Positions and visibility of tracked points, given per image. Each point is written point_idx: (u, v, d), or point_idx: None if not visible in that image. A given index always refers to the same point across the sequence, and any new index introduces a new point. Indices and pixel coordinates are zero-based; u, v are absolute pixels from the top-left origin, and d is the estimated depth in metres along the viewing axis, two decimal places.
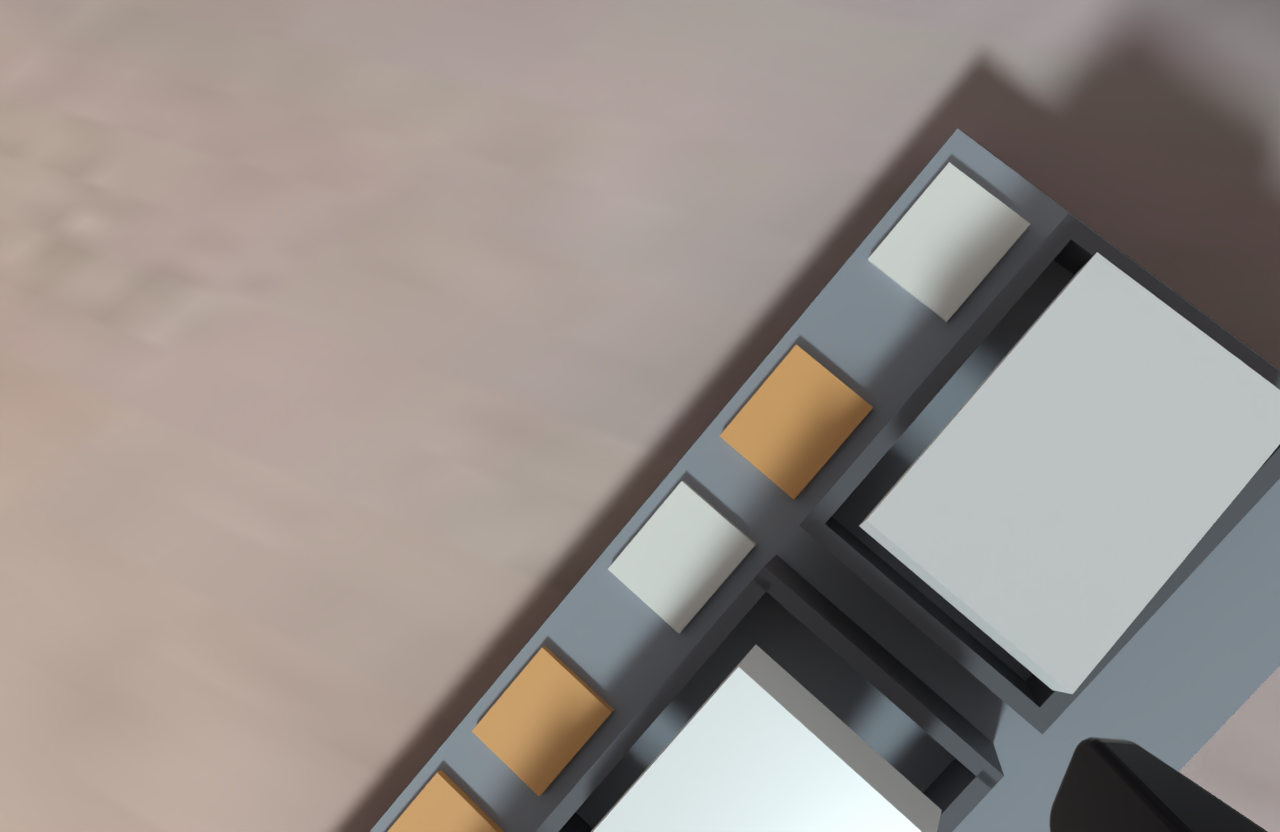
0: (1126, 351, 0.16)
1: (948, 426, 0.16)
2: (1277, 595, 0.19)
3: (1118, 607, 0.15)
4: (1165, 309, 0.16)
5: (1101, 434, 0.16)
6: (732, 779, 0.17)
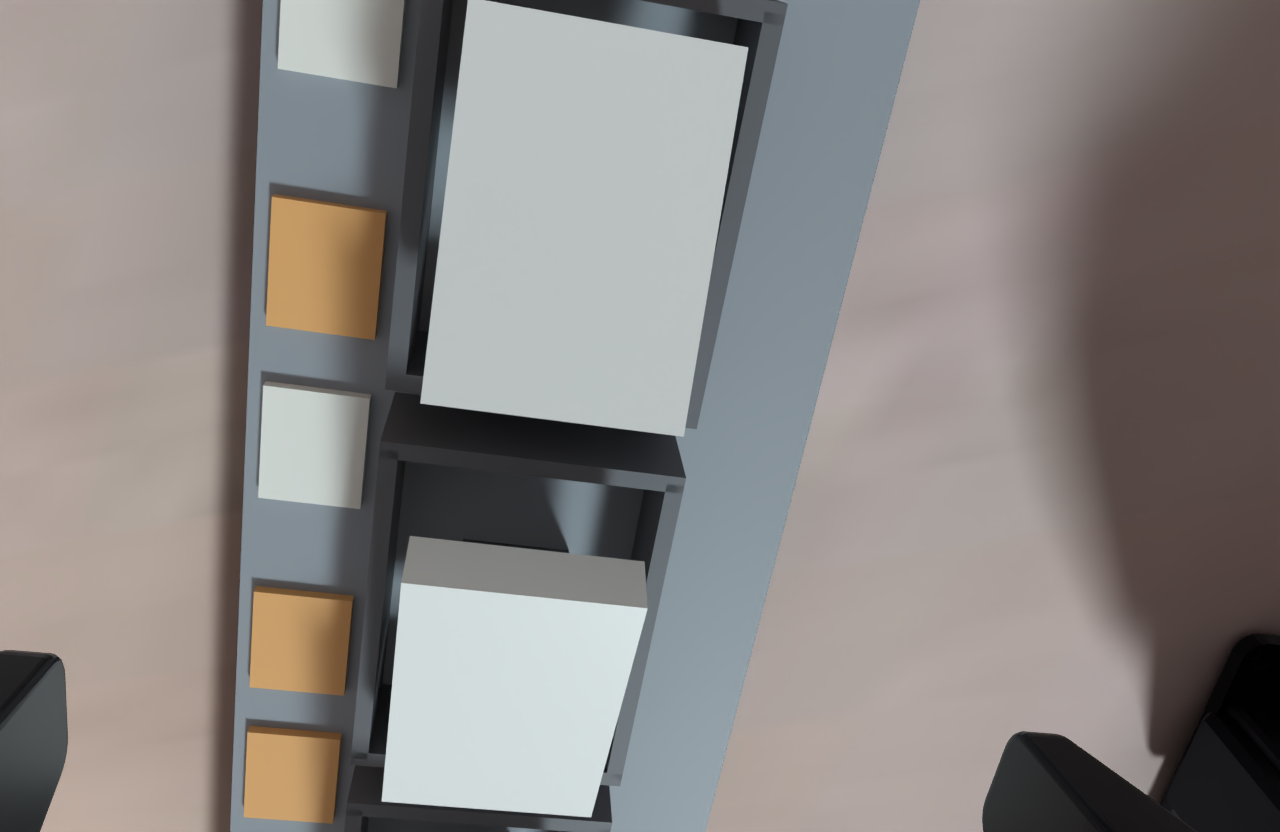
0: (555, 89, 0.14)
1: (437, 268, 0.15)
2: (831, 167, 0.19)
3: (680, 339, 0.15)
4: (567, 21, 0.14)
5: (578, 188, 0.15)
6: (462, 657, 0.17)
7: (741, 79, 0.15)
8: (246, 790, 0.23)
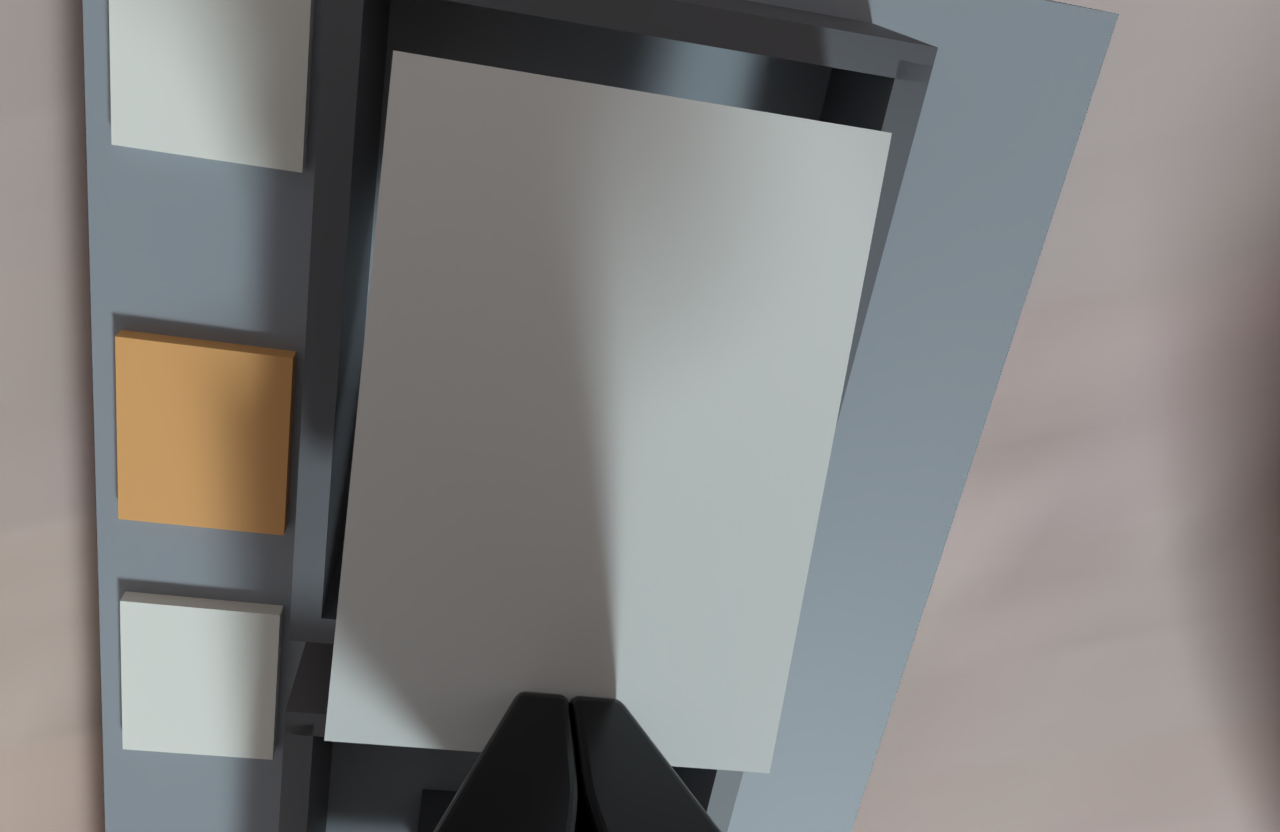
0: (552, 211, 0.08)
1: (348, 519, 0.08)
2: (964, 279, 0.12)
3: (767, 621, 0.09)
4: (573, 91, 0.08)
5: (594, 379, 0.08)
6: None
7: (876, 185, 0.08)
8: None
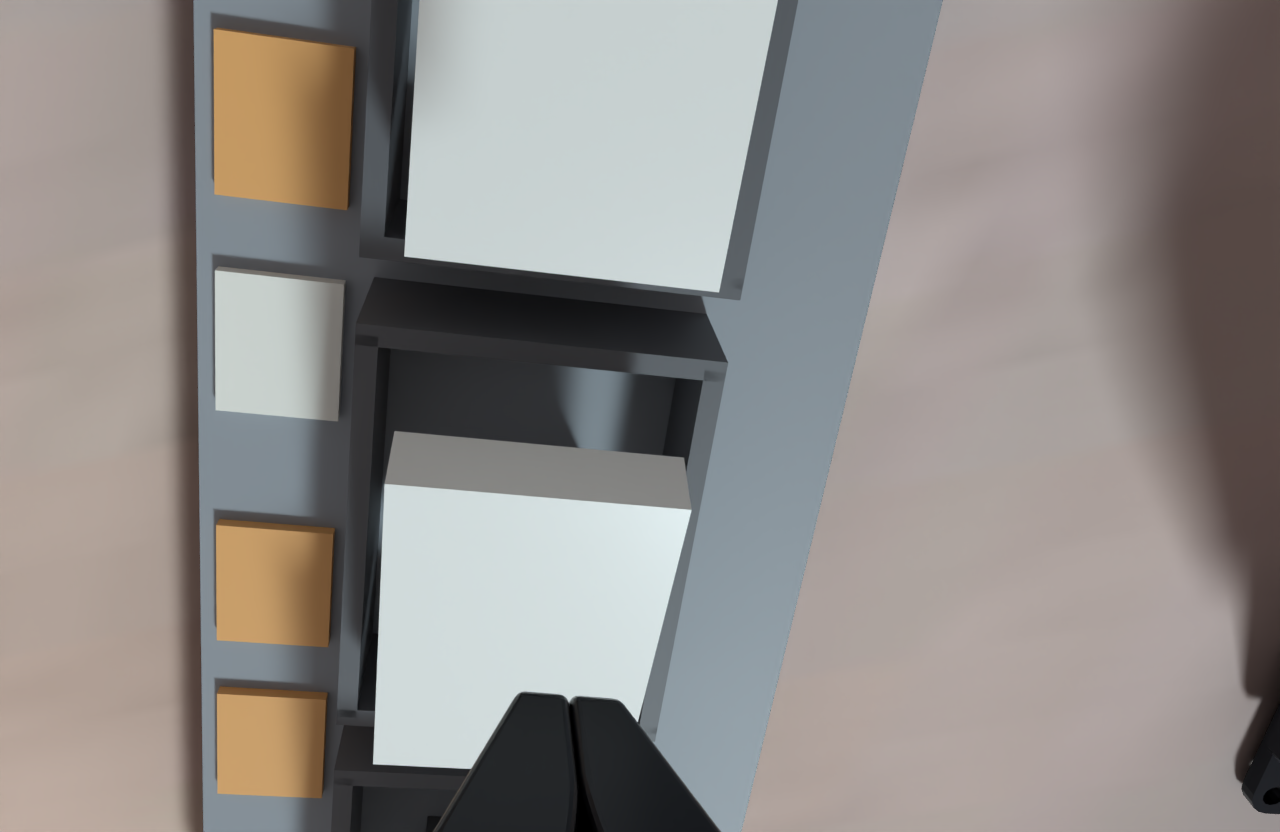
0: None
1: (415, 92, 0.12)
2: None
3: (718, 178, 0.12)
4: None
5: None
6: (464, 579, 0.14)
7: None
8: (219, 762, 0.20)
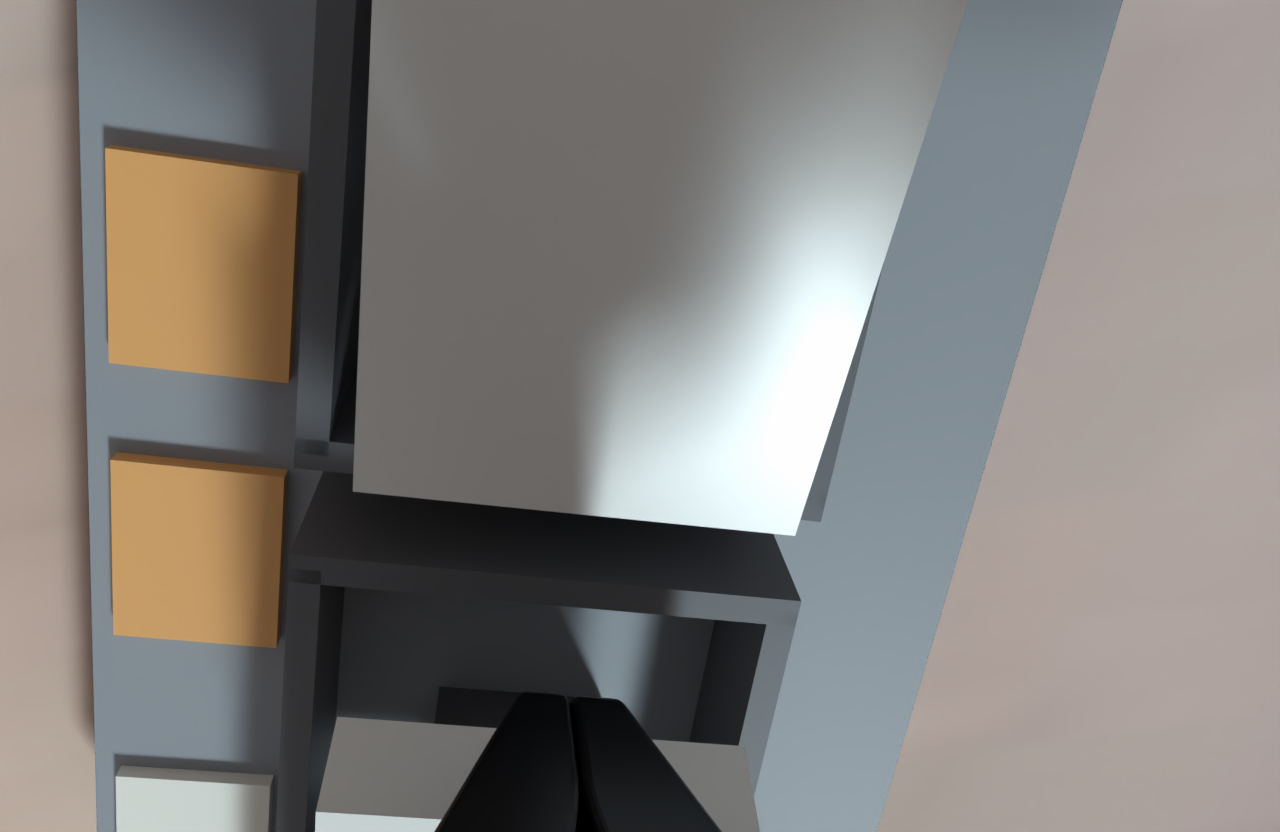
0: None
1: None
2: None
3: None
4: None
5: None
6: (540, 27, 0.07)
7: None
8: (115, 580, 0.12)
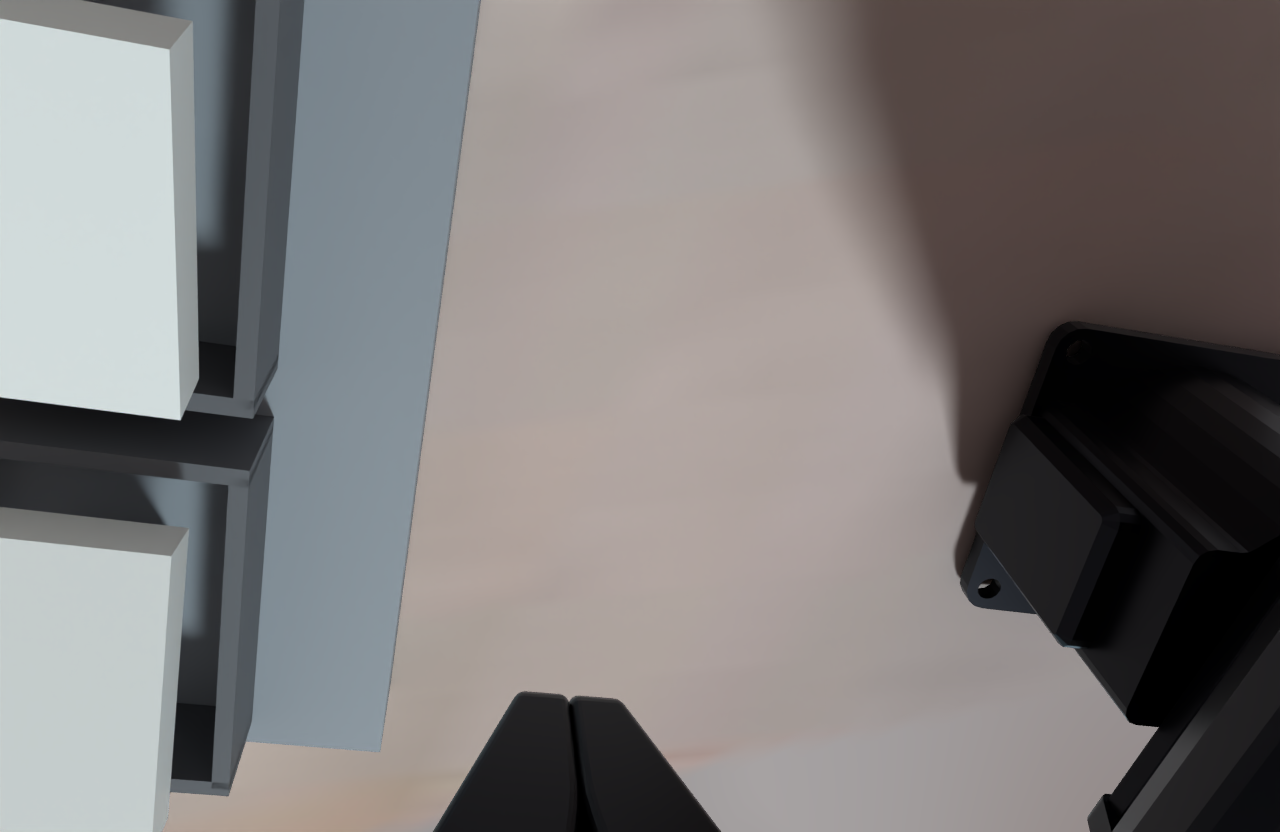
0: None
1: None
2: None
3: None
4: None
5: None
6: None
7: None
8: None
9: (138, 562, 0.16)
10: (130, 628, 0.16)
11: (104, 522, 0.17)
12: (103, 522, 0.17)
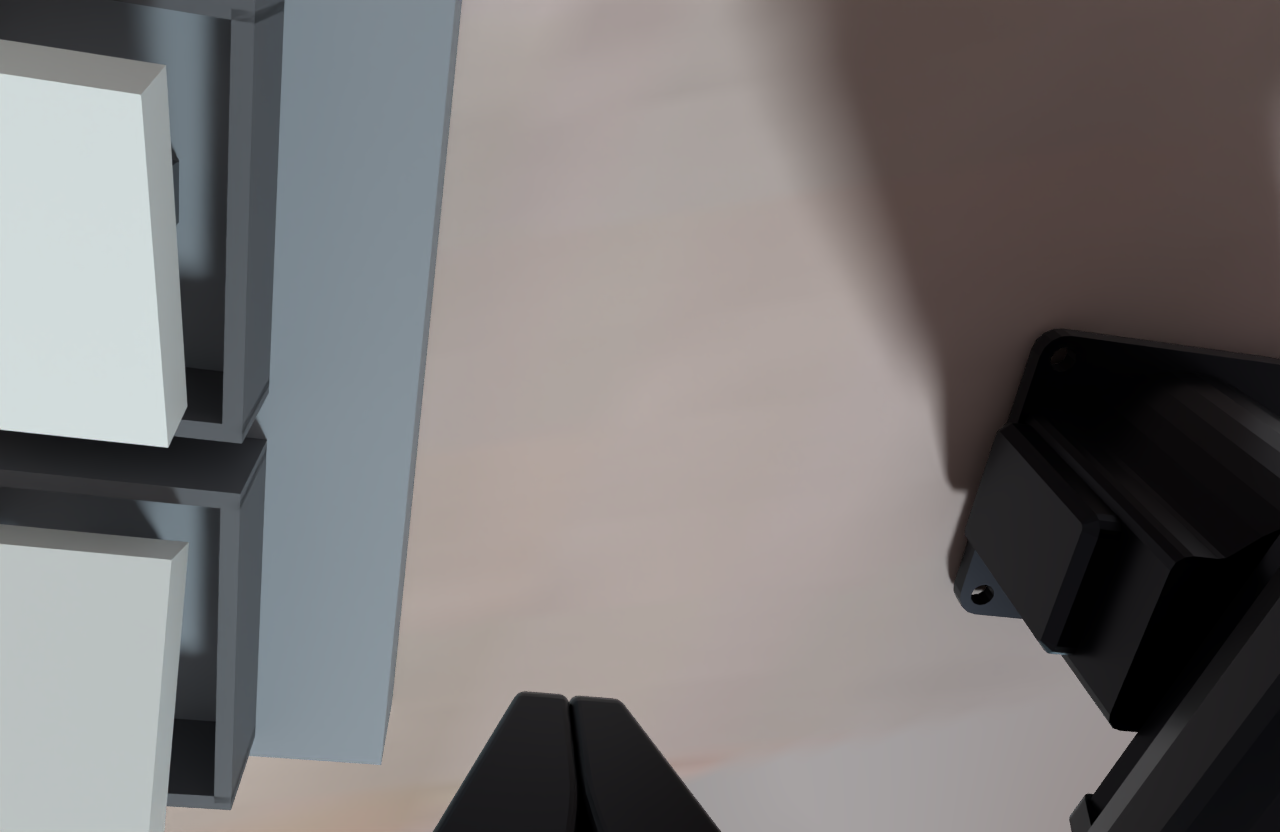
0: None
1: None
2: None
3: None
4: None
5: None
6: None
7: None
8: None
9: (140, 566, 0.17)
10: (130, 634, 0.17)
11: (108, 537, 0.17)
12: (107, 537, 0.17)
